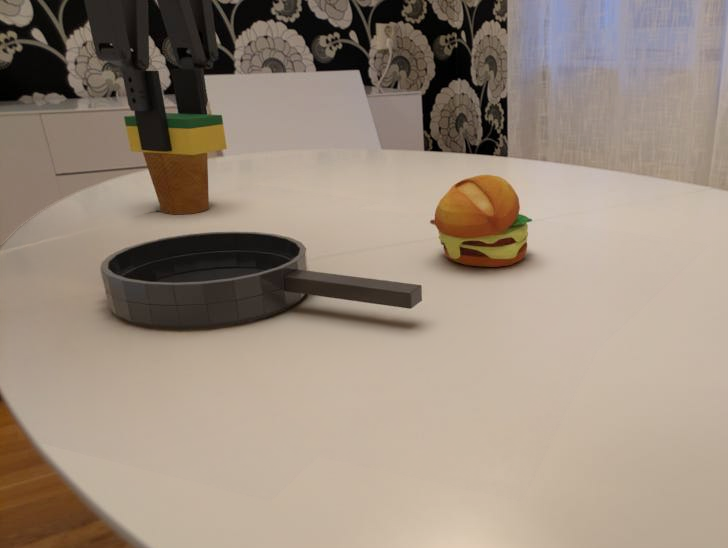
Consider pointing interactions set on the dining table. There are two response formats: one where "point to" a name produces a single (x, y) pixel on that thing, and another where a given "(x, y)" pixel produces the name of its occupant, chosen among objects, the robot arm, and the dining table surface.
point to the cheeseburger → (482, 223)
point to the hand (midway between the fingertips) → (177, 146)
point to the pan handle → (353, 288)
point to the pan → (203, 279)
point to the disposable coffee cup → (179, 181)
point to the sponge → (185, 133)
